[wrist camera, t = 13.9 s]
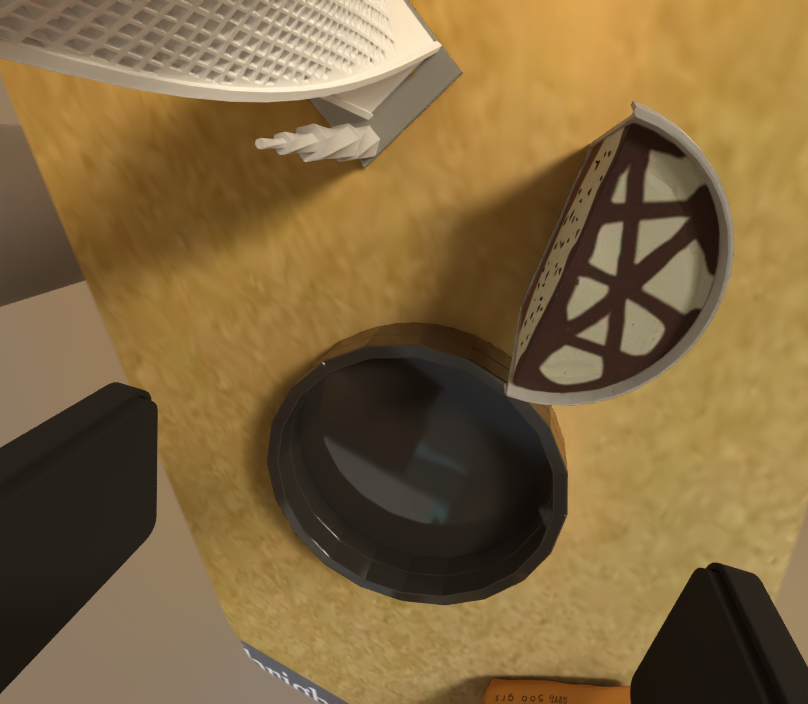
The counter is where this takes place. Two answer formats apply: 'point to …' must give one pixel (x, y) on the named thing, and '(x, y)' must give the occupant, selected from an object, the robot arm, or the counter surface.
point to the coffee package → (552, 693)
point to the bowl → (419, 466)
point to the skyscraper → (250, 59)
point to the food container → (625, 268)
